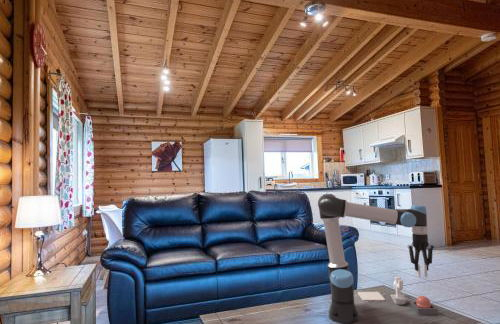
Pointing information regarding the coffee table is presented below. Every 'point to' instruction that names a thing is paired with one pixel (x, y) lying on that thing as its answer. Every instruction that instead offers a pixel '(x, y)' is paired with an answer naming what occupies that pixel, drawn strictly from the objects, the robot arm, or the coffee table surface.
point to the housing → (424, 309)
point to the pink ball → (423, 302)
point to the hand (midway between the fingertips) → (422, 276)
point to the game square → (371, 296)
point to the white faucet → (398, 291)
